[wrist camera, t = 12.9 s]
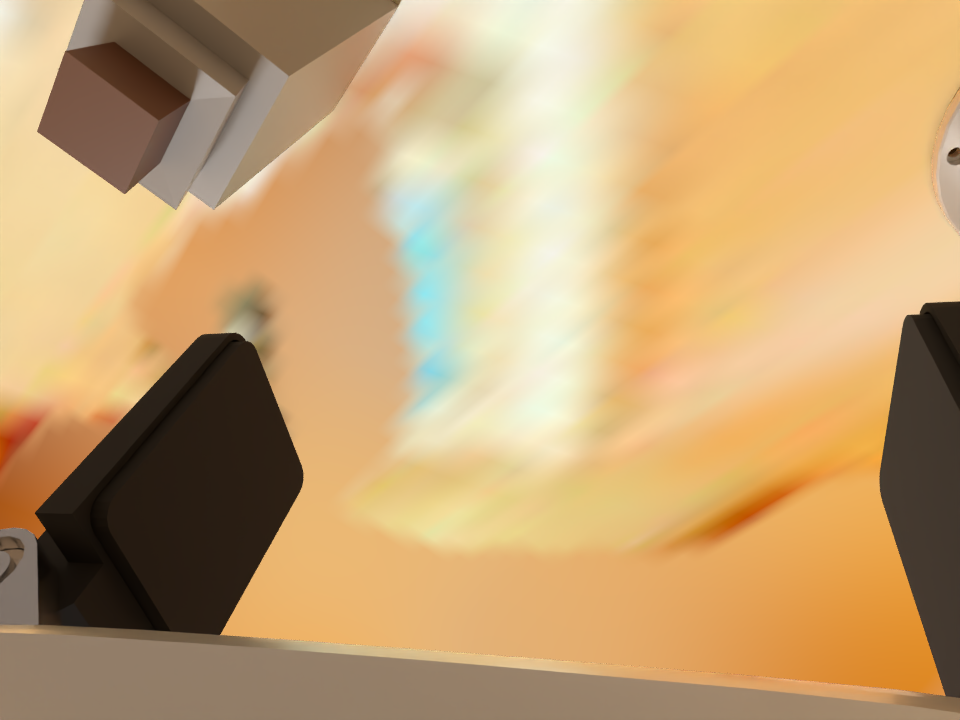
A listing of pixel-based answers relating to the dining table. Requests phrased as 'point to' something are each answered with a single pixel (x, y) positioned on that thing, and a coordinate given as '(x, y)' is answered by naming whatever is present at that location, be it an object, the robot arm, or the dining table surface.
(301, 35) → the perfume bottle
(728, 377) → the dining table surface
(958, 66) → the dining table surface
